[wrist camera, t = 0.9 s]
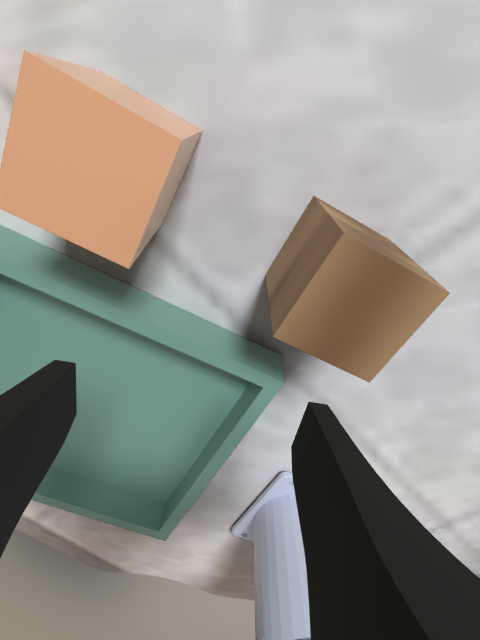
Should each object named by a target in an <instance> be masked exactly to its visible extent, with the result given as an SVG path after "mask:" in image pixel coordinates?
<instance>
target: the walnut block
mask: <svg viewBox="0 0 480 640" xmlns="http://www.w3.org/2000/svg"><path fill="white" fill-rule="evenodd" d="M266 284H267V292H268V301H269V309H270V318H271V326H272V335H273V337H274V338H276V339H278V340H280V341H283V342H285V343H287V344H289V345H291V346H293V347H295V348H297V349H299V350H302V351H304V352H306V353H308V354H310V355H312V356H314V357H316V358H319V359H321V360H323V361H325V362H327V363H329V364H331V365H333V366H335V367H338V368H340V369H342V370H344V371H346V372H348V373H350V374H352V375H355V376H357V377H359V378H361V379H363V380H365V381H367V382H369V383H370V381H371V380H372V379H373V378H374V377H375V376H376V375H377V374H378V373H379V371H380V370H381V369H382V368H383V367H384V366H385V365H386V364H387V363H388V361H389V360H390V359H391V358H392V357H393V356H394V355H395V354H396V353H397V351H398V350H399V349H400V348H401V347H402V346H403V345H404V344H405V343H406V341H407V340H408V339H409V338H410V337H411V336H412V335H413V334H414V332H415V331H416V330H417V329H418V328H419V327H420V326H421V325H422V324H423V322H424V321H425V320H426V319H427V318H428V317H429V316H430V315H431V314H432V312H433V311H434V310H435V309H436V308H437V307H438V306H439V305H440V304H441V302H442V301H443V300H444V299H445V298H446V297H447V296H448V295H449V294H450V293H449V292H448V291H447V290H446V289H445V288H444V287H443V286H441V285H440V284H439V283H438V282H437V281H436V280H435V279H433V278H432V277H431V276H430V275H429V274H428V273H427V272H426V271H424V270H423V269H422V268H421V267H420V266H419V265H418V264H417V263H415V262H414V261H413V260H412V259H411V258H410V257H409V256H407V255H406V254H405V253H404V252H403V251H402V250H401V249H400V248H398V247H397V246H396V245H395V244H394V243H393V242H392V241H391V240H389V239H387V238H385V237H384V236H382V235H380V234H379V233H377V232H375V231H373V230H372V229H370V228H368V227H367V226H365V225H363V224H361V223H360V222H358V221H356V220H355V219H353V218H351V217H349V216H348V215H346V214H344V213H343V212H341V211H339V210H338V209H336V208H334V207H332V206H331V205H329V204H327V203H326V202H324V201H322V200H320V199H319V198H317V197H315V196H313V198H312V200H311V201H310V203H309V204H308V206H307V208H306V209H305V211H304V213H303V214H302V216H301V218H300V219H299V221H298V222H297V224H296V226H295V227H294V229H293V231H292V232H291V234H290V236H289V237H288V239H287V240H286V242H285V244H284V245H283V247H282V249H281V250H280V252H279V254H278V255H277V257H276V258H275V260H274V262H273V263H272V265H271V267H270V268H269V270H268V272H267V273H266Z"/></svg>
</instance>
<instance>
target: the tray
mask: <svg viewBox="0 0 480 640" xmlns="http://www.w3.org/2000/svg"><path fill="white" fill-rule="evenodd" d="M54 360H60V361H67V362H73V363H76V397H77V414H76V417H75V419H74V421H73V424H72V426H71V429H70V431H69V433H68V435H67V438H66V440H65V442H64V444H63V446H62V448H61V450H60V451H59V453H58V455H57V456H56V458H55V460H54V462H53V463H52V465H51V467H50V468H49V470H48V472H47V474H46V475H45V477H44V479H43V480H42V482H41V484H40V485H39V487H38V489H37V490H36V492H35V494H34V495H33V497H32V499H31V500H34V501H37V502H40V503H43V504H47V505H50V506H53V507H56V508H60V509H63V510H66V511H69V512H73V513H76V514H79V515H82V516H86V517H89V518H92V519H95V520H99V521H102V522H105V523H108V524H111V525H115V526H118V527H121V528H124V529H128V530H131V531H134V532H137V533H141V534H144V535H147V536H150V537H154V538H157V539H160V540H163V541H165V540H166V539H167V538H168V536H169V535H170V534H171V533H172V531H173V530H174V529H175V527H176V526H177V525H178V523H179V522H180V521H181V519H182V518H183V517H184V515H185V514H186V513H187V511H188V510H189V509H190V507H191V506H192V505H193V503H194V502H195V501H196V499H197V498H198V497H199V495H200V494H201V493H202V492H203V490H204V489H205V488H206V486H207V485H208V484H209V482H210V481H211V480H212V478H213V477H214V476H215V474H216V473H217V472H218V470H219V469H220V468H221V466H222V465H223V464H224V462H225V461H226V460H227V458H228V457H229V456H230V454H231V453H232V452H233V451H234V449H235V448H236V447H237V445H238V444H239V443H240V441H241V440H242V439H243V437H244V436H245V435H246V433H247V432H248V431H249V429H250V428H251V427H252V425H253V424H254V423H255V421H256V420H257V419H258V417H259V416H260V415H261V414H262V412H263V411H264V410H265V408H266V407H267V406H268V404H269V403H270V402H271V400H272V399H273V398H274V396H275V395H276V394H277V392H278V391H279V390H280V388H281V387H282V386H283V384H284V383H285V380H284V374H283V367H282V360H281V355H280V354H278V353H276V352H274V351H272V350H269V349H267V348H265V347H263V346H261V345H259V344H256V343H254V342H252V341H250V340H248V339H246V338H243V337H241V336H239V335H237V334H235V333H233V332H230V331H228V330H226V329H224V328H222V327H220V326H217V325H215V324H213V323H211V322H209V321H207V320H204V319H202V318H200V317H198V316H196V315H194V314H191V313H189V312H187V311H185V310H183V309H181V308H178V307H176V306H174V305H172V304H170V303H168V302H165V301H163V300H161V299H159V298H157V297H155V296H152V295H150V294H148V293H146V292H144V291H142V290H139V289H137V288H135V287H133V286H131V285H129V284H126V283H124V282H122V281H120V280H118V279H116V278H113V277H111V276H109V275H107V274H105V273H103V272H100V271H98V270H96V269H94V268H92V267H90V266H87V265H85V264H83V263H81V262H79V261H77V260H74V259H72V258H70V257H68V256H66V255H64V254H61V253H59V252H57V251H55V250H53V249H51V248H48V247H46V246H44V245H42V244H40V243H38V242H35V241H33V240H31V239H29V238H27V237H25V236H22V235H20V234H18V233H16V232H14V231H12V230H9V229H7V228H5V227H3V226H1V225H0V395H1V394H3V393H4V392H6V391H8V390H9V389H11V388H12V387H14V386H15V385H17V384H18V383H20V382H21V381H23V380H24V379H26V378H28V377H29V376H31V375H32V374H34V373H35V372H37V371H38V370H40V369H41V368H43V367H44V366H46V365H47V364H49V363H51V362H52V361H54Z"/></svg>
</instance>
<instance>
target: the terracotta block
mask: <svg viewBox="0 0 480 640" xmlns="http://www.w3.org/2000/svg"><path fill="white" fill-rule="evenodd" d="M201 133H202V130H201V129H199V128H197V127H196V126H194V125H192V124H190V123H189V122H187V121H185V120H184V119H182V118H180V117H178V116H177V115H175V114H173V113H172V112H170V111H168V110H166V109H165V108H163V107H161V106H160V105H158V104H156V103H155V102H153V101H151V100H149V99H148V98H146V97H144V96H143V95H141V94H139V93H137V92H136V91H134V90H132V89H131V88H129V87H127V86H125V85H124V84H122V83H120V82H119V81H117V80H115V79H113V78H112V77H110V76H108V75H107V74H105V73H103V72H101V71H97V70H94V69H90V68H86V67H83V66H79V65H76V64H72V63H69V62H65V61H61V60H58V59H54V58H51V57H47V56H44V55H40V54H36V53H33V52H29V51H26V50H24V53H23V58H22V63H21V68H20V73H19V78H18V83H17V88H16V93H15V98H14V103H13V108H12V113H11V118H10V123H9V128H8V133H7V138H6V143H5V148H4V153H3V158H2V163H1V168H0V209H2V210H4V211H6V212H8V213H11V214H13V215H15V216H17V217H19V218H21V219H23V220H25V221H28V222H30V223H32V224H34V225H36V226H38V227H40V228H43V229H45V230H47V231H49V232H51V233H53V234H55V235H57V236H60V237H62V238H64V239H66V240H68V241H70V242H72V243H74V244H77V245H79V246H81V247H83V248H85V249H87V250H89V251H92V252H94V253H96V254H98V255H100V256H102V257H104V258H106V259H109V260H111V261H113V262H115V263H117V264H119V265H121V266H123V267H126V268H128V269H129V268H130V267H131V265H132V264H133V263H134V261H135V260H136V259H137V257H138V256H139V255H140V253H141V252H142V250H143V249H144V248H145V246H146V245H147V244H148V242H149V241H150V240H151V238H152V237H153V235H154V234H155V233H156V231H157V230H158V229H159V227H160V226H161V225H162V223H163V221H164V219H165V217H166V214H167V212H168V210H169V207H170V205H171V203H172V201H173V198H174V196H175V194H176V191H177V189H178V187H179V184H180V182H181V180H182V177H183V175H184V173H185V170H186V168H187V166H188V163H189V161H190V159H191V156H192V154H193V152H194V150H195V147H196V145H197V143H198V140H199V138H200V136H201Z"/></svg>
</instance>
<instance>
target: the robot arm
mask: <svg viewBox="0 0 480 640" xmlns="http://www.w3.org/2000/svg"><path fill="white" fill-rule="evenodd" d="M76 414H77V397H76V363H73V362H67V361H60V360H54V361H52V362H51V363H49V364H47V365H46V366H44V367H43V368H41V369H40V370H38V371H37V372H35V373H34V374H32V375H31V376H29V377H28V378H26V379H24V380H23V381H21V382H20V383H18V384H17V385H15V386H14V387H12V388H11V389H9V390H8V391H6V392H4V393H3V394H1V395H0V558H1V556H2V553H3V551H4V549H5V547H6V545H7V543H8V541H9V539H10V537H11V534H12V532H13V530H14V529H15V527H16V525H17V523H18V521H19V519H20V518H21V516H22V514H23V512H24V511H25V509H26V507H27V506H28V504H29V502H30V500H31V499H32V497H33V495H34V494H35V492H36V490H37V489H38V487H39V485H40V484H41V482H42V480H43V479H44V477H45V475H46V474H47V472H48V470H49V468H50V467H51V465H52V463H53V462H54V460H55V458H56V456H57V455H58V453H59V451H60V450H61V448H62V446H63V444H64V442H65V440H66V438H67V435H68V433H69V431H70V429H71V426H72V424H73V421H74V419H75V417H76ZM291 448H292V473H290V472H282V473H280V474H279V475H278V476H277V477H276V479H275V480H274V481H273V482H272V483H271V484H270V485H269V486H268V488H267V489H266V490H265V491H264V492H263V493H262V494H261V496H260V497H259V498H258V499H257V500H256V501H255V502H254V503H253V505H252V506H251V507H250V508H249V509H248V510H247V511H246V512H245V514H244V515H243V516H242V517H241V518H240V519H239V520H238V522H237V523H236V524H235V525H234V526H233V527H232V534H233V535H234V536H236V537H239V538H243V539H246V540H249V541H252V542H254V578H255V632H256V640H480V578H478V577H477V576H476V575H475V574H474V573H473V572H471V571H470V570H469V569H468V568H467V567H466V566H465V565H464V564H462V563H461V562H460V561H459V560H458V559H457V558H456V557H455V556H454V555H453V554H452V553H451V552H449V551H448V550H447V549H446V548H445V547H444V546H443V545H442V544H441V543H440V542H439V541H438V540H437V539H436V538H435V537H434V536H433V535H432V534H431V533H430V532H429V531H428V530H427V529H426V528H425V527H424V526H423V525H422V524H421V523H420V522H419V521H418V520H417V519H416V518H415V517H414V516H413V515H412V514H411V512H410V511H409V510H408V509H407V508H406V507H405V506H404V505H403V504H402V503H401V502H400V501H399V499H398V498H397V497H396V496H395V495H394V494H393V493H392V491H391V490H390V489H389V488H388V486H387V485H386V484H385V483H384V482H383V480H382V479H381V478H380V477H379V475H378V474H377V473H376V472H375V470H374V469H373V468H372V467H371V465H370V464H369V463H368V461H367V460H366V459H365V457H364V456H363V455H362V453H361V452H360V451H359V449H358V448H357V446H356V445H355V444H354V442H353V441H352V439H351V438H350V437H349V435H348V434H347V432H346V431H345V429H344V428H343V427H342V425H341V424H340V422H339V421H338V419H337V418H336V416H335V415H334V413H333V412H332V411H331V409H330V408H329V406H328V405H325V404H319V403H313V402H308V405H307V408H306V410H305V413H304V415H303V418H302V421H301V423H300V426H299V428H298V431H297V434H296V436H295V439H294V441H293V444H292V447H291Z"/></svg>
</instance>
